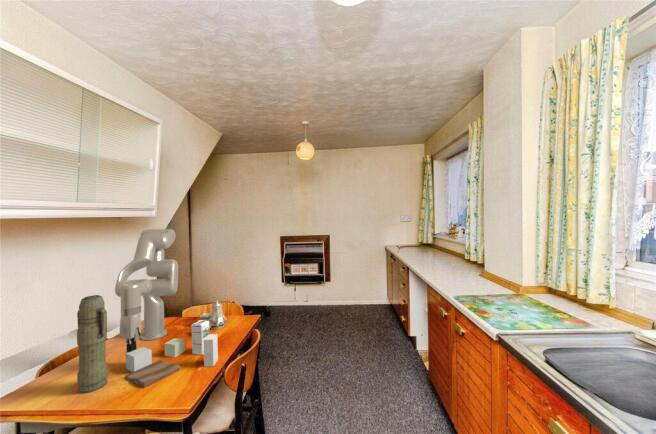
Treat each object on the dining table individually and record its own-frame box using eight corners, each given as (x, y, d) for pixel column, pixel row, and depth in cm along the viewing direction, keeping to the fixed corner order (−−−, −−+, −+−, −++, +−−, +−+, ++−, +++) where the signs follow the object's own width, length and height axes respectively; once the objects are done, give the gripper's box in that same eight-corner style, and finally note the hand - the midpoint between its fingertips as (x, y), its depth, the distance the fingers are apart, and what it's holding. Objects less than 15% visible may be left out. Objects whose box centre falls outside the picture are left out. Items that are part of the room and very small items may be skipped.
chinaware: (198, 324, 174) (194, 298, 174) (225, 317, 181) (222, 292, 181) (197, 341, 149) (193, 311, 148) (229, 332, 156) (225, 304, 155)
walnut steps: (125, 377, 112) (125, 373, 112) (160, 362, 124) (160, 357, 124) (144, 387, 105) (144, 382, 105) (179, 370, 117) (179, 365, 117)
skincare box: (208, 360, 125) (208, 334, 125) (218, 359, 125) (217, 333, 126) (203, 367, 119) (203, 339, 119) (213, 366, 119) (213, 339, 120)
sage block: (164, 356, 130) (164, 343, 130) (174, 350, 136) (174, 338, 136) (175, 357, 129) (175, 344, 129) (184, 351, 134) (184, 339, 135)
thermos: (88, 379, 111) (87, 293, 112) (116, 379, 111) (115, 293, 111) (67, 393, 103) (66, 300, 103) (97, 393, 102) (96, 299, 102)
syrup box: (202, 355, 130) (202, 324, 130) (191, 354, 131) (191, 323, 131) (210, 349, 136) (209, 320, 136) (199, 348, 137) (199, 319, 137)
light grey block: (126, 369, 119) (125, 353, 119) (143, 362, 125) (143, 346, 125) (134, 373, 115) (134, 357, 115) (151, 365, 121) (151, 350, 122)
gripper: (113, 311, 124) (113, 351, 124) (130, 316, 116) (130, 359, 116) (132, 306, 130) (132, 345, 130) (148, 310, 123) (149, 351, 123)
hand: (131, 351), depth 123 cm, fingers closed
